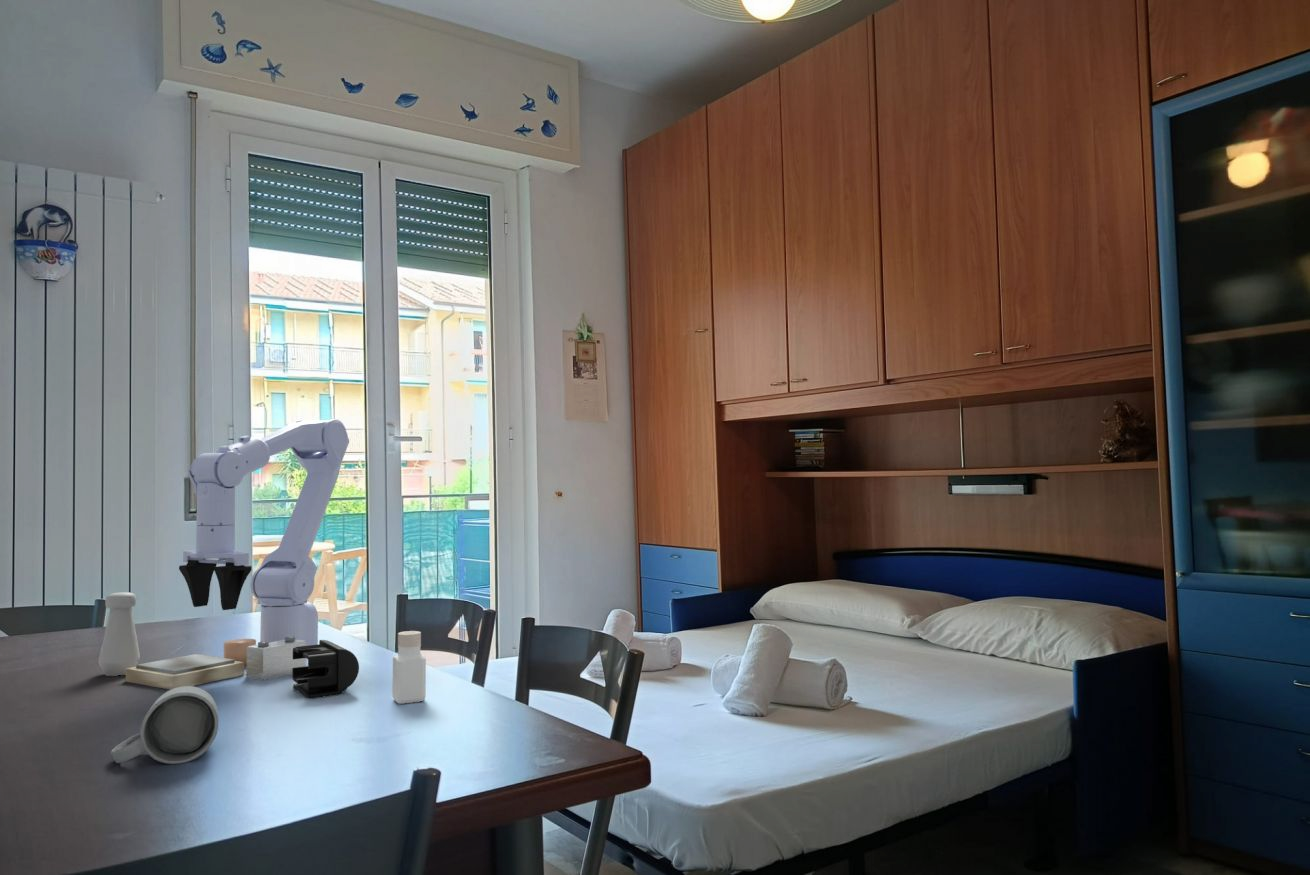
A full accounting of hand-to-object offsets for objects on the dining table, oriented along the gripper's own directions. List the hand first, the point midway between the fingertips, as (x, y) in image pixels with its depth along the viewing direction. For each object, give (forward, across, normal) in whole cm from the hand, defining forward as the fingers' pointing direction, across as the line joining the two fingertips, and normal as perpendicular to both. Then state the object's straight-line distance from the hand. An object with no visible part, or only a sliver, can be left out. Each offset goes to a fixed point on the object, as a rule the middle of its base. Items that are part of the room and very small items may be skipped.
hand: (214, 607), depth 149 cm
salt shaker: (+10, -12, -9) cm, 18 cm away
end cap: (+11, +27, -1) cm, 29 cm away
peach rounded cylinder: (+10, -1, +5) cm, 12 cm away
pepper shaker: (+10, +43, 0) cm, 45 cm away
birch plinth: (+10, +1, -6) cm, 12 cm away
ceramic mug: (+10, +38, -32) cm, 51 cm away
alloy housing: (+10, +11, +3) cm, 16 cm away
